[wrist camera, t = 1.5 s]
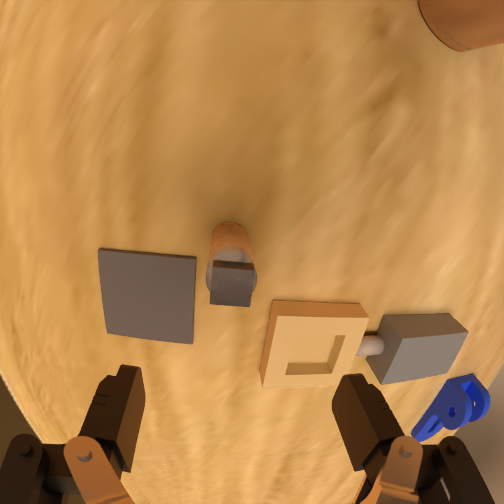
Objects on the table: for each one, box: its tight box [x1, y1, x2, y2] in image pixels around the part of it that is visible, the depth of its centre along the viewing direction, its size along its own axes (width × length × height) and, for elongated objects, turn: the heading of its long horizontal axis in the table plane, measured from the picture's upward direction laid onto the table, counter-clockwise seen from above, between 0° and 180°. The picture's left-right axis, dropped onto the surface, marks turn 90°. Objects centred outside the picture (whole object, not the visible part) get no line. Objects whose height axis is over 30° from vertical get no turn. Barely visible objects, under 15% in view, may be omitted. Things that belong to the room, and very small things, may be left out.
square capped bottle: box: [206, 222, 257, 307], centre depth 23 cm, size 3×3×10 cm
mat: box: [98, 248, 196, 344], centre depth 28 cm, size 10×10×1 cm
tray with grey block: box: [260, 300, 468, 388], centre depth 31 cm, size 26×10×5 cm, turn 83°
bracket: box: [411, 373, 490, 442], centre depth 39 cm, size 18×8×9 cm, turn 172°
